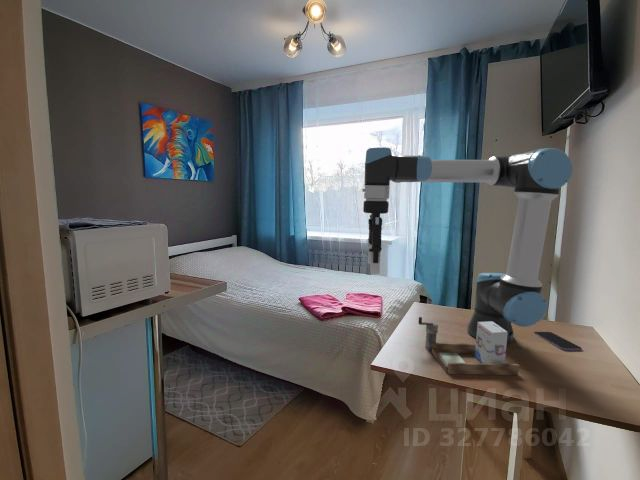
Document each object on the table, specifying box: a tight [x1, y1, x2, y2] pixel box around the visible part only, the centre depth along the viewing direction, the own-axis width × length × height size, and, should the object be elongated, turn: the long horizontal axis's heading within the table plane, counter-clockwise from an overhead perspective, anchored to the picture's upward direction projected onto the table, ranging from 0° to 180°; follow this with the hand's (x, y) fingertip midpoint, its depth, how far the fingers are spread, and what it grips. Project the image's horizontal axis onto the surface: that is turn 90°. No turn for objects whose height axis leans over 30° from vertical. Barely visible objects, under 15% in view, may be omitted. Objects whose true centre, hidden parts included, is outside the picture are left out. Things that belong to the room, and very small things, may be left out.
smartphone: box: [533, 331, 583, 352], centre depth 121 cm, size 7×1×15 cm
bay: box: [417, 316, 520, 376], centre depth 104 cm, size 24×17×11 cm
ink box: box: [474, 321, 508, 364], centre depth 103 cm, size 9×5×12 cm, turn 5°
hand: (373, 268), depth 106 cm, fingers open, 13 cm apart
